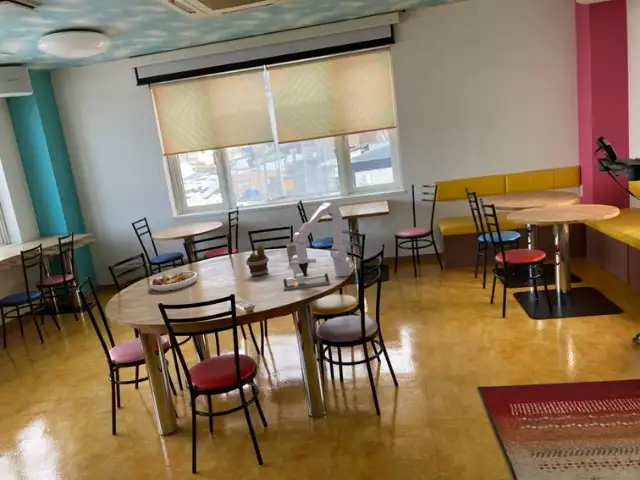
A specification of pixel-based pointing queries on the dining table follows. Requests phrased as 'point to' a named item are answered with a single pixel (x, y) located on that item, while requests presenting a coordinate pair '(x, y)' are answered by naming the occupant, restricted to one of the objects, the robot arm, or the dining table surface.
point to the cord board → (306, 282)
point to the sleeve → (300, 278)
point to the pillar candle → (291, 250)
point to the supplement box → (296, 266)
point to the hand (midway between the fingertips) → (305, 275)
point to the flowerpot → (258, 262)
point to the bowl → (173, 281)
